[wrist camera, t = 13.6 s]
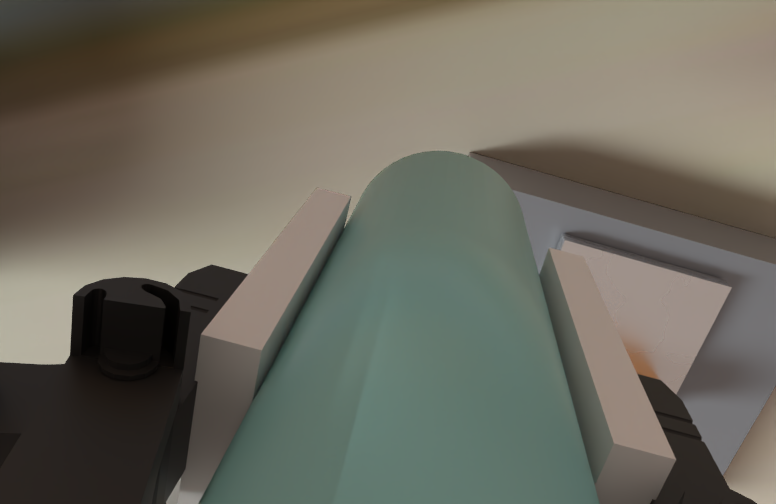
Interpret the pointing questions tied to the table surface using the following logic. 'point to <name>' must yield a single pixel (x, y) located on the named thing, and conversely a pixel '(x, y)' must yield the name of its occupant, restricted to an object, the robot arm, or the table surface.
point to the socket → (687, 250)
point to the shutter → (653, 307)
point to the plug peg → (417, 361)
